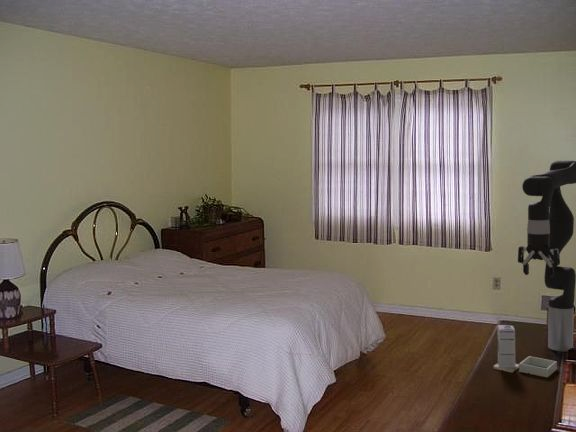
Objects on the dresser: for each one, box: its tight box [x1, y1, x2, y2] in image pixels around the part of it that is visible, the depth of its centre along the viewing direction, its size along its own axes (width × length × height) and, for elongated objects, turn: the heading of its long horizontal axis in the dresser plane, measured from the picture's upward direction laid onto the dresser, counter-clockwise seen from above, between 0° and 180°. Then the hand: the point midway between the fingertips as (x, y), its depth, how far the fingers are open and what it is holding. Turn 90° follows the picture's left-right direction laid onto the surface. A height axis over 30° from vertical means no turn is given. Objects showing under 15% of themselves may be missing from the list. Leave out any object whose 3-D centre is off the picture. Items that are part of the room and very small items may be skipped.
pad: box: [493, 362, 519, 373], centre depth 226 cm, size 7×7×1 cm
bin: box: [518, 355, 558, 378], centre depth 222 cm, size 10×10×3 cm
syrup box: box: [496, 324, 516, 368], centre depth 225 cm, size 6×6×14 cm
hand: (538, 275), depth 222 cm, fingers open, 8 cm apart
